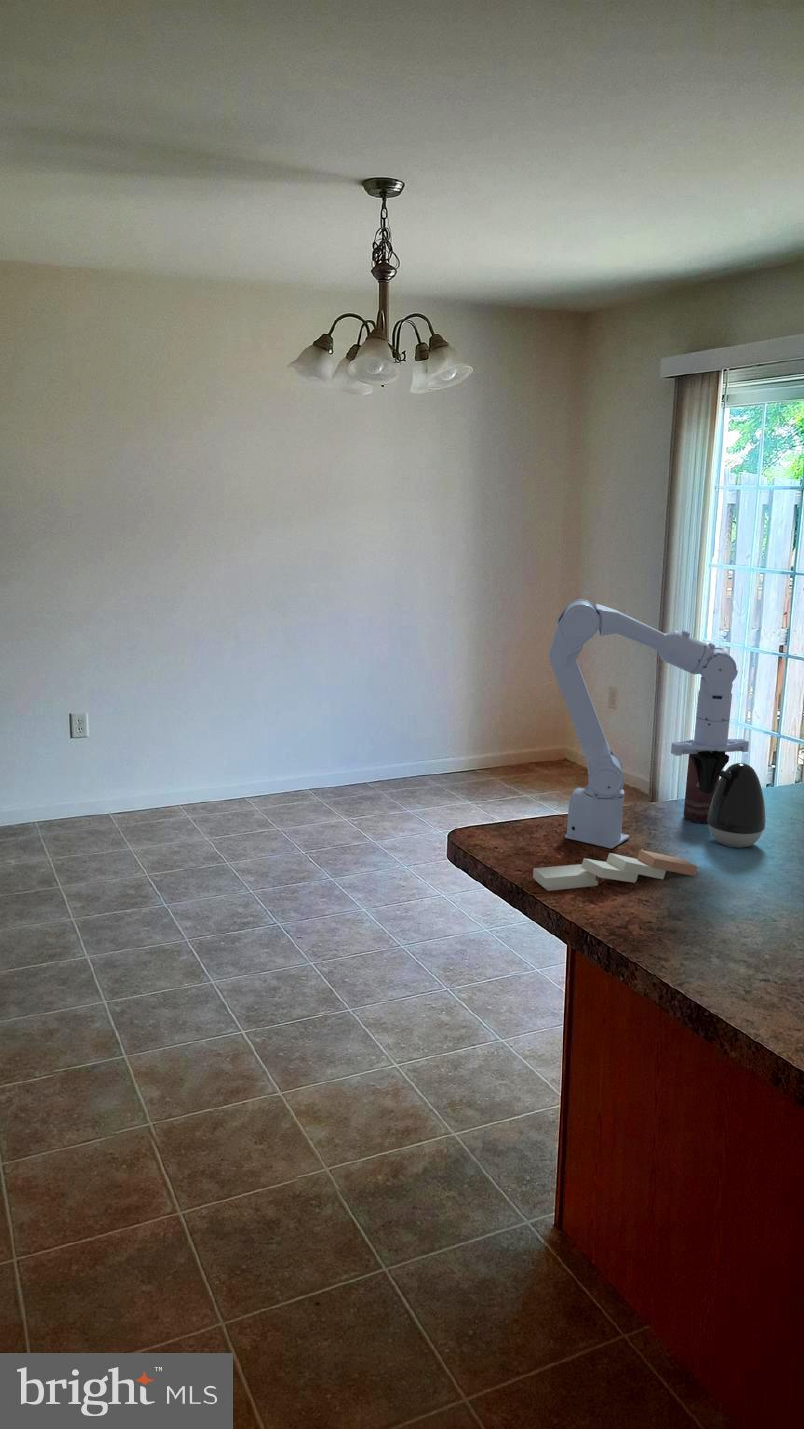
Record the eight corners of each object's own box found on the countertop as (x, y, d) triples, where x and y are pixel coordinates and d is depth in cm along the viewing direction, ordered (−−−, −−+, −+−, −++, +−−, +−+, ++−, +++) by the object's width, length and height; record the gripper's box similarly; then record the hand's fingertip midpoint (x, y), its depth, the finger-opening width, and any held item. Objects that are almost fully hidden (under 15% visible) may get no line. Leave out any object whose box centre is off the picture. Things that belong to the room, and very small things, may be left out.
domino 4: (663, 879, 174) (623, 870, 170) (646, 870, 178) (606, 861, 174) (666, 870, 174) (626, 861, 170) (649, 861, 178) (609, 852, 173)
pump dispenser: (692, 837, 196) (699, 758, 192) (736, 831, 200) (744, 754, 196) (729, 855, 186) (737, 773, 183) (775, 848, 191) (784, 768, 187)
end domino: (694, 876, 176) (652, 867, 172) (678, 867, 180) (637, 858, 176) (697, 867, 176) (655, 858, 172) (681, 858, 180) (639, 849, 176)
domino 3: (635, 882, 172) (600, 877, 167) (615, 873, 176) (580, 867, 170) (638, 873, 172) (603, 868, 167) (618, 864, 176) (583, 858, 170)
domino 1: (595, 882, 170) (544, 887, 167) (582, 873, 174) (532, 877, 171) (595, 873, 170) (545, 878, 167) (583, 864, 174) (533, 868, 171)
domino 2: (597, 890, 171) (547, 895, 168) (584, 881, 175) (535, 885, 172) (598, 881, 171) (547, 886, 168) (585, 872, 175) (536, 876, 172)
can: (719, 817, 208) (726, 749, 205) (710, 826, 202) (716, 755, 199) (689, 812, 211) (695, 744, 208) (679, 820, 206) (685, 750, 203)
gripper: (689, 724, 179) (682, 800, 182) (761, 721, 184) (754, 795, 187) (667, 715, 186) (661, 789, 189) (738, 712, 190) (731, 784, 193)
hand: (705, 791), depth 188 cm, fingers closed
